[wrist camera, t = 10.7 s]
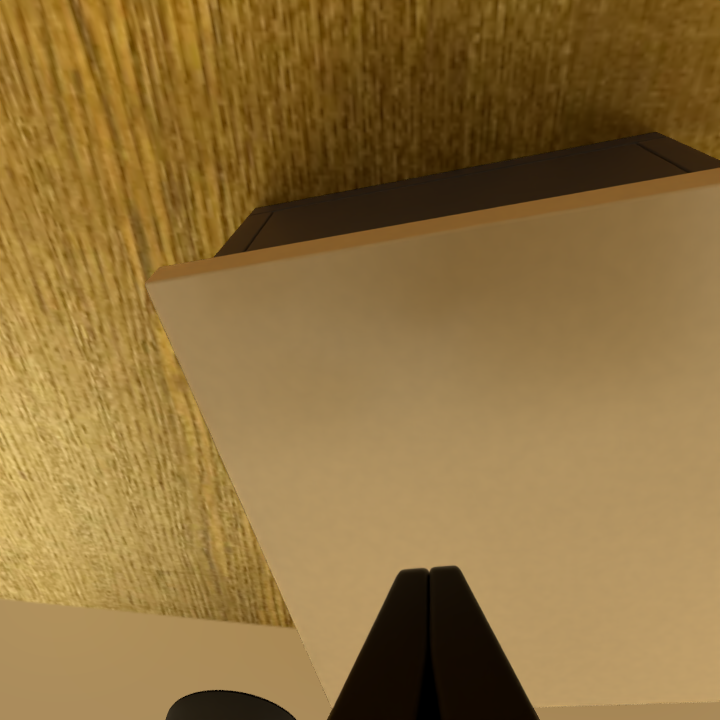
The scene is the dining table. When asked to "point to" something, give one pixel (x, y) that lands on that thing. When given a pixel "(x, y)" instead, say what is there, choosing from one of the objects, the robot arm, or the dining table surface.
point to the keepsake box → (468, 190)
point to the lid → (484, 427)
